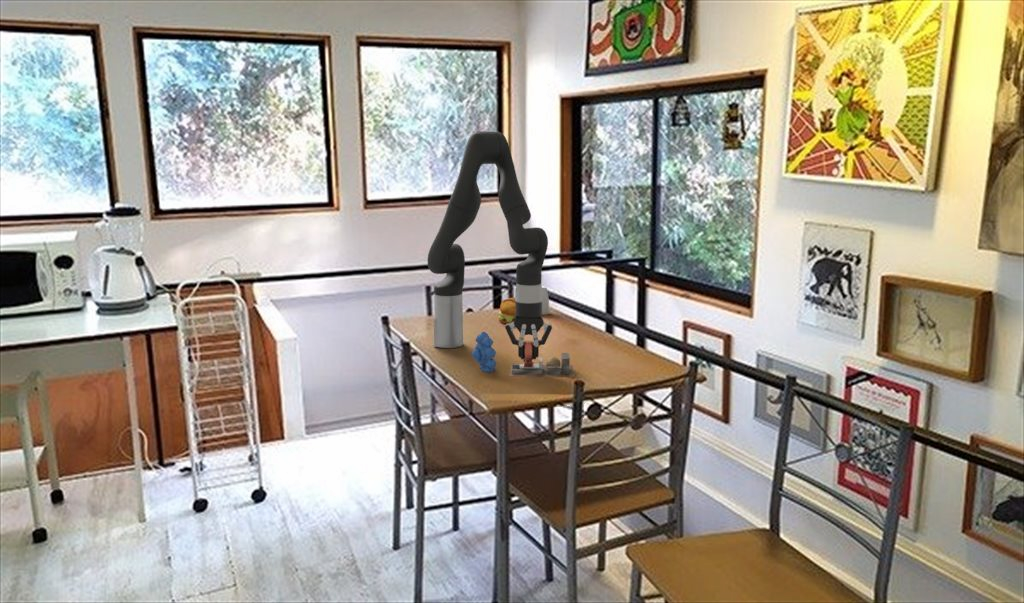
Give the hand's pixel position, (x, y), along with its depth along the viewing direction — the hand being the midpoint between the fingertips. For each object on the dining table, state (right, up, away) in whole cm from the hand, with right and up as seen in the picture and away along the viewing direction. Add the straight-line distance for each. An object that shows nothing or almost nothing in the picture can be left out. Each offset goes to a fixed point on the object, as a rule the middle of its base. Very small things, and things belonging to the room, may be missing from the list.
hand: (528, 358), depth 216 cm
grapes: (-13, -5, +3) cm, 14 cm away
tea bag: (+6, +11, +79) cm, 80 cm away
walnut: (+7, -4, +1) cm, 8 cm away
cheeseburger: (-5, +8, +66) cm, 67 cm away
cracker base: (+4, -5, +1) cm, 6 cm away
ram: (+1, -3, +1) cm, 3 cm away
